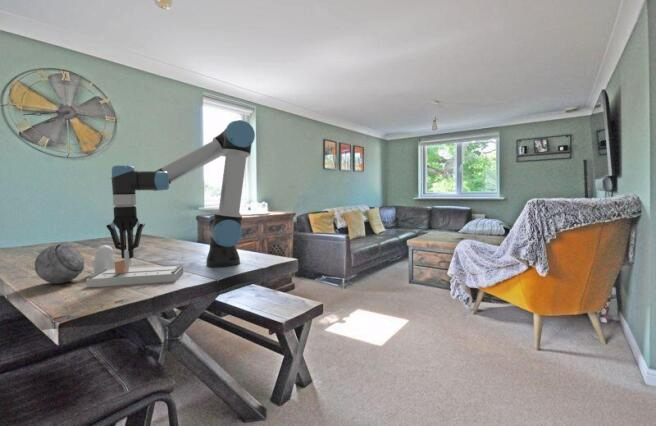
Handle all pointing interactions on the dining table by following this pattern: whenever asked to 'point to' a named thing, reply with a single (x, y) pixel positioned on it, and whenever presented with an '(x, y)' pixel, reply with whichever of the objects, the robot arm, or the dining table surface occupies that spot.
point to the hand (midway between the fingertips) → (128, 266)
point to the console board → (135, 276)
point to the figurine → (104, 259)
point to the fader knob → (120, 267)
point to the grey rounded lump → (59, 263)
